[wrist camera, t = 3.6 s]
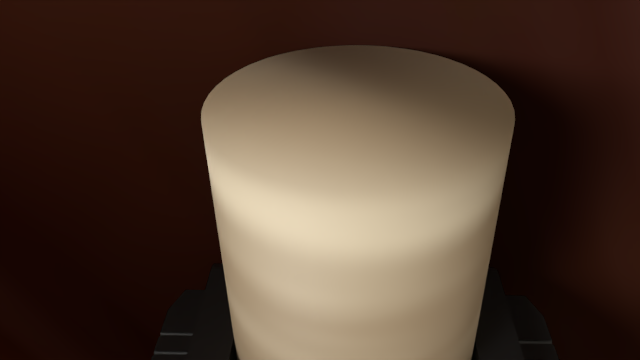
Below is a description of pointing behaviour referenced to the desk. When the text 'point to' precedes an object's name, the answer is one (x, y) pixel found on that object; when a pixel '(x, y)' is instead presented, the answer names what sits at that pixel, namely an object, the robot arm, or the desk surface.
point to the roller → (356, 201)
